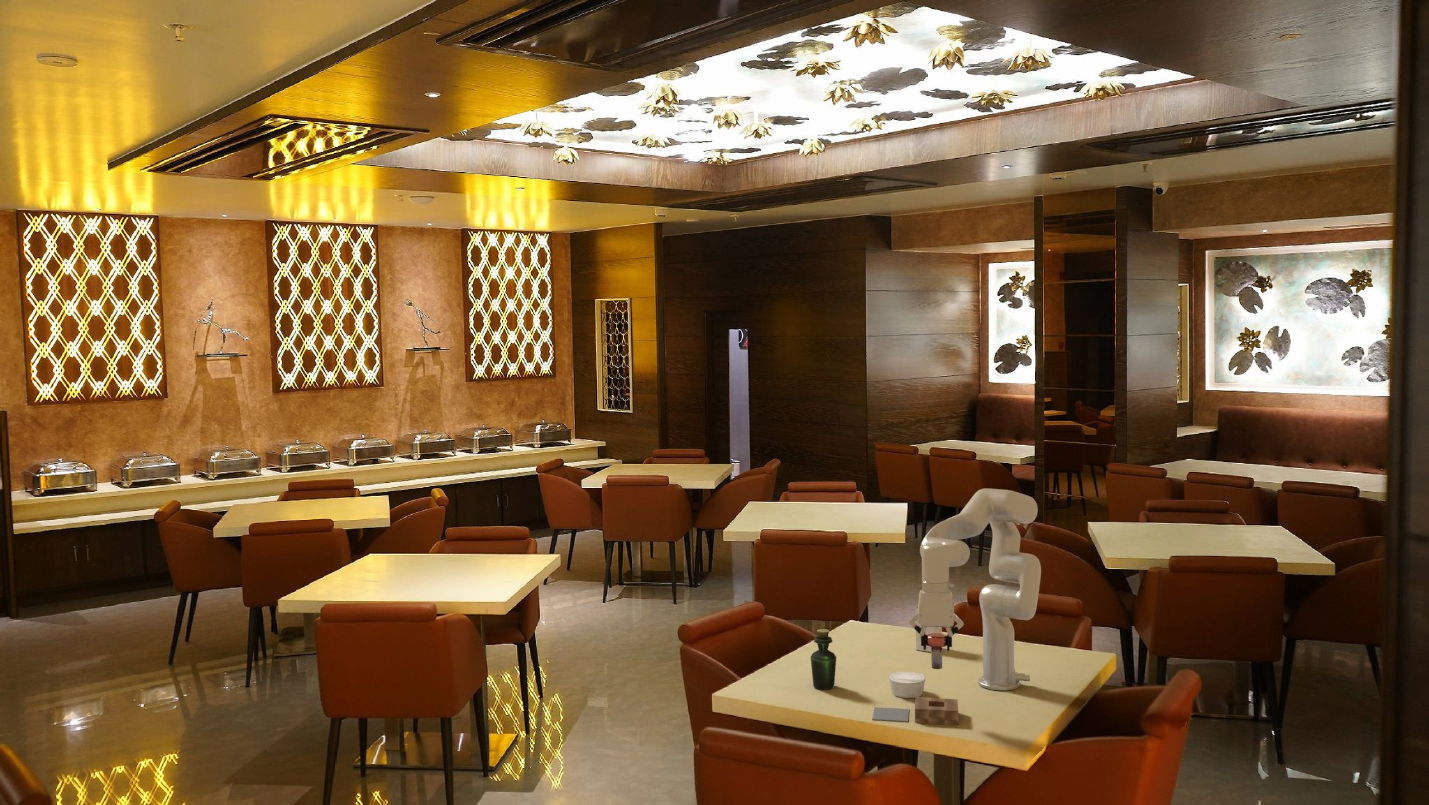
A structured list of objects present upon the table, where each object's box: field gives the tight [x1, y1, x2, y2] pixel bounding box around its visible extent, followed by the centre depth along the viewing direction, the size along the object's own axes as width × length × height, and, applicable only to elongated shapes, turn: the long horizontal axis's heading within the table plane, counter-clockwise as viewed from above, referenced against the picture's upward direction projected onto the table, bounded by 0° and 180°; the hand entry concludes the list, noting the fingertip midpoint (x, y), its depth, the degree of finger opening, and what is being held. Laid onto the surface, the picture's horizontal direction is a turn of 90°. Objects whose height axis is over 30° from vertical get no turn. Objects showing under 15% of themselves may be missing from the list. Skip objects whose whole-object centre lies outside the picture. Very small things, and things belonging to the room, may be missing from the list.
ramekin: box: [888, 671, 926, 699], centre depth 316 cm, size 11×11×5 cm
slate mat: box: [871, 706, 910, 723], centre depth 298 cm, size 10×10×1 cm
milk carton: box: [915, 606, 943, 653], centre depth 362 cm, size 7×7×19 cm
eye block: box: [914, 696, 959, 726], centre depth 295 cm, size 12×10×4 cm
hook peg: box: [926, 633, 947, 670], centre depth 294 cm, size 6×6×9 cm
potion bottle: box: [809, 628, 837, 691], centre depth 324 cm, size 8×8×18 cm
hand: (936, 648), depth 294 cm, fingers closed on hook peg, 6 cm apart
